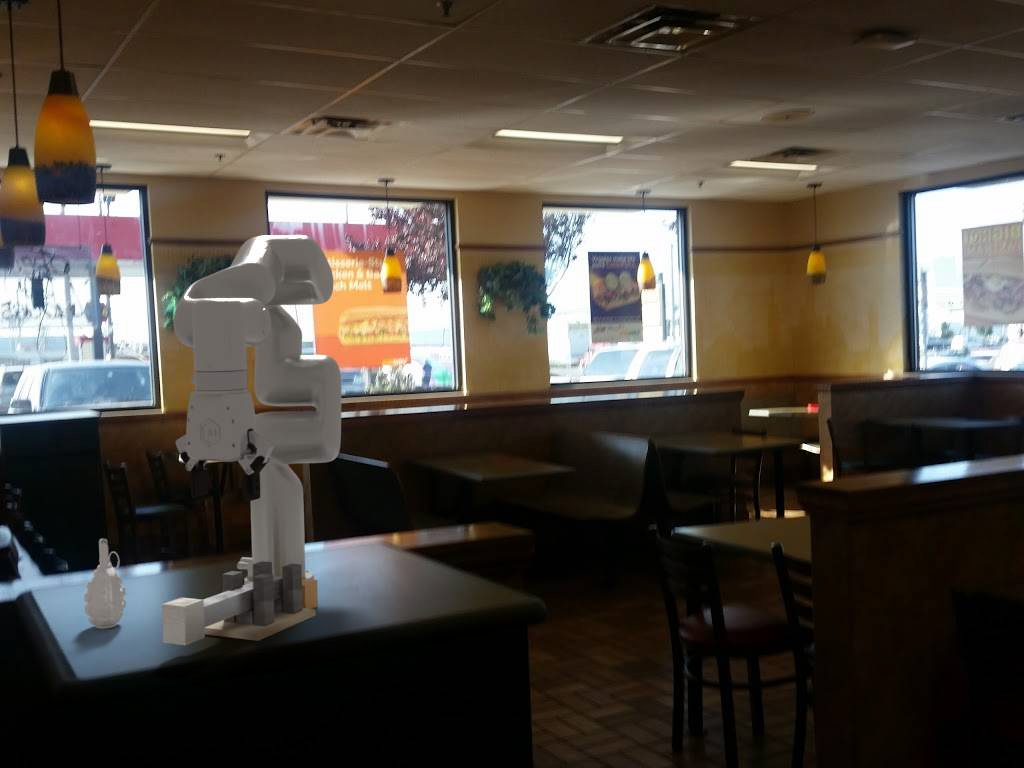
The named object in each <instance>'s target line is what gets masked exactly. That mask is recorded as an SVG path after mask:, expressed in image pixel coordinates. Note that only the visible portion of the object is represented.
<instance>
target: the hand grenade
mask: <svg viewBox="0 0 1024 768" xmlns="http://www.w3.org/2000/svg"><path fill="white" fill-rule="evenodd" d="M98 550H99V551H98V552H99V559H98V561H99V564H98V565H97V567H96V569H95V570H94V571H93V577H92V578H90V580H89V581H88V582H87V584H86V589H87V591H86V592H85V593H84V597H83V601H84V602H86V605H85V606H84V613H85V615H87V616H89V617H88V619H87V621H88V622H89V624H91V625H93V626H95V628H96V629H99V630H101V629H103V630H104V629H111V628H114V627H116V626H117V625H118V622H120V621H121V619H122V618H123V616H124V613H123V612H124V609H125V608H126V606H127V600H126V599H124V598H125V596H126V594H127V593H126V589H125V587H124V586H123V585H122V584H123V583H124V582H123V580H122V577H121V576H119V574H118V573H117V571H116V570H118V569H119V567H120V563H121V562H120V557H119V555H118V553H117V552H116V551H111V552H110V553H109V545H108V539H107V538H100V539H99V540H98ZM112 554H115V555H116V557H117V560H118V561H117V564H116V567H114V565H112V561H111V555H112Z"/></svg>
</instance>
